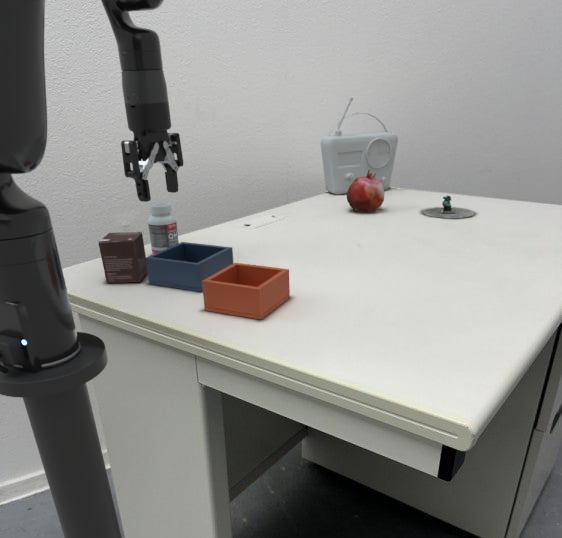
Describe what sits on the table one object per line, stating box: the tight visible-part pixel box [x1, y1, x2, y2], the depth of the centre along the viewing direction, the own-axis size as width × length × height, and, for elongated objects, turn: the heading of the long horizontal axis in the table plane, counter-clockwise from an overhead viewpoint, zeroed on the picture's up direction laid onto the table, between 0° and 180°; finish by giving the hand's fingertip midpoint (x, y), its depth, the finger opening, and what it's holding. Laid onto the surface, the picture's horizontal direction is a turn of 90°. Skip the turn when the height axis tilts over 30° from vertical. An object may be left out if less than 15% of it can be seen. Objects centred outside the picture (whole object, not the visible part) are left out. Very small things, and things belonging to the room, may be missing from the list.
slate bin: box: [145, 241, 234, 293], centre depth 94 cm, size 11×11×5 cm
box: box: [98, 231, 148, 284], centre depth 94 cm, size 6×6×7 cm
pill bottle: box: [147, 202, 180, 255], centre depth 105 cm, size 5×5×10 cm
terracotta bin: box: [202, 262, 291, 320], centre depth 82 cm, size 10×10×5 cm
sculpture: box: [422, 195, 475, 219], centre depth 133 cm, size 12×9×8 cm
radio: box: [320, 96, 399, 195], centre depth 155 cm, size 22×8×25 cm, turn 109°
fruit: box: [346, 170, 385, 213], centre depth 136 cm, size 9×10×10 cm
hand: (159, 196), depth 102 cm, fingers open, 8 cm apart
